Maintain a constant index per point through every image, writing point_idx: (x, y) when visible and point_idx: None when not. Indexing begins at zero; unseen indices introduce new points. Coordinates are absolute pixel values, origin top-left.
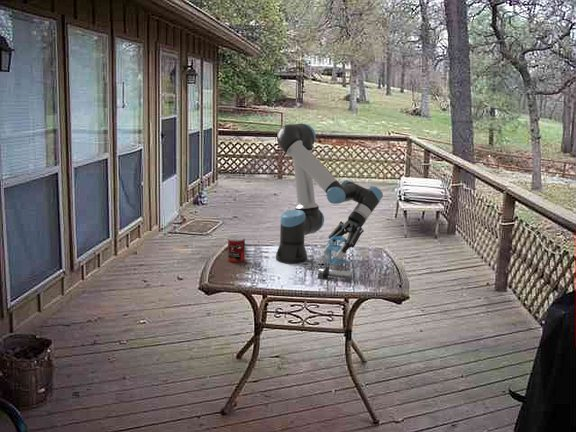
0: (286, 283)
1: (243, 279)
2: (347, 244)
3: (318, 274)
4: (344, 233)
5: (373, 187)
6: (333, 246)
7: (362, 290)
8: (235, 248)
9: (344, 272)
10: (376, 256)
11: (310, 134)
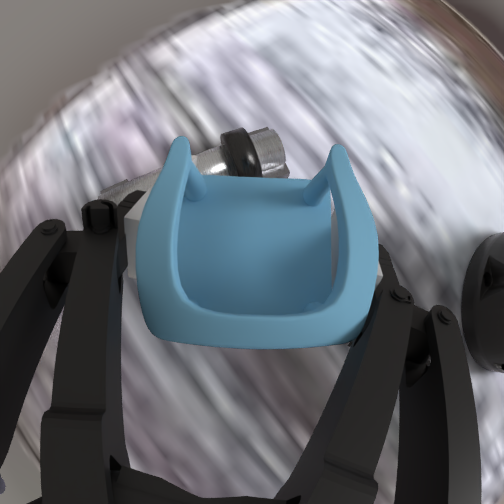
0: (310, 32)
1: (413, 19)
2: (91, 224)
3: (263, 128)
4: (292, 476)
5: None
6: (313, 266)
7: (36, 152)
8: None
9: (130, 183)
10: None
11: None
